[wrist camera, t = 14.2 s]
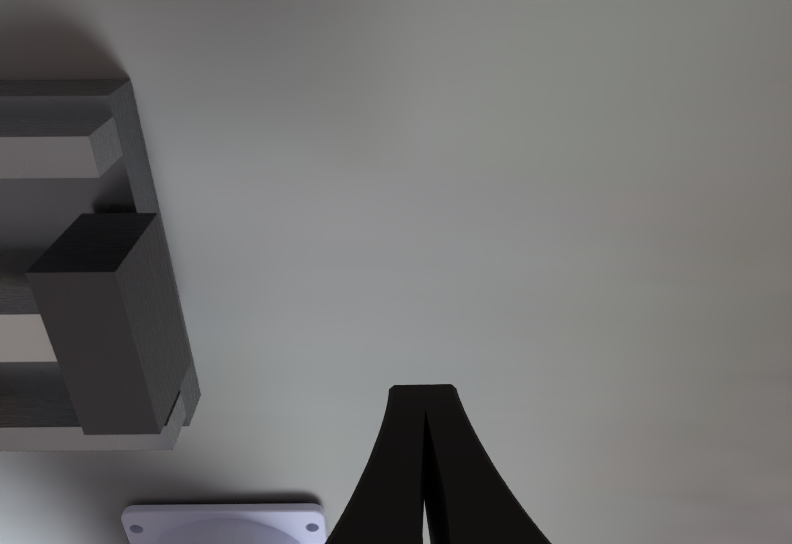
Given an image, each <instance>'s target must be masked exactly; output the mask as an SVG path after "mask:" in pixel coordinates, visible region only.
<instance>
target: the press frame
mask: <svg viewBox="0 0 792 544" xmlns="http://www.w3.org/2000/svg"><path fill="white" fill-rule="evenodd" d="M82 213H158V216H159V220H160V225H161V229H162V234H163V238H164V243H165V247H166V251H167V256H168V260H169V265H170V269H171V274H172V278H173V283H174V287H175V291H176V296H177V300H178V305H179V309H180V314H181V318H182V323H183V327H184V332H185V336H186V340H187V345H188V349H189V354H190V358H191V363H190V365H189V368H188V370H187V372H186V375H185V377H184V380H183V382H182V384H181V387H180V389H179V391H178V394H177V396H176V398H175V401H174V403H173V405H172V408H171V410H170V413H169V415H168V417H167V420H166V422H165V424H164V427H163V429H162V431H161V434H141V435H84V433H83V430H82V427H81V425H80V422H79V419H78V417H77V414H76V411H75V408H74V406H73V403H72V400H71V397H70V395H69V392H68V389H67V386H66V384H65V381H64V378H63V376H62V373H61V370H60V367H59V365H58V362H57V361H51V362H0V451H98V450H173V448H174V446H175V443H176V441H177V438H178V435H179V433H180V430H181V428H182V426H189V425H190V422H191V420H192V417H193V415H194V412H195V409H196V407H197V404H198V401H199V399H200V396H201V394H200V389H199V385H198V381H197V376H196V372H195V367H194V363H193V358H192V354H191V349H190V345H189V340H188V336H187V331H186V327H185V322H184V318H183V313H182V309H181V304H180V300H179V295H178V291H177V286H176V282H175V277H174V273H173V268H172V264H171V259H170V255H169V250H168V246H167V241H166V237H165V232H164V228H163V223H162V219H161V214H160V210H159V205H158V201H157V196H156V192H155V188H154V183H153V179H152V174H151V170H150V165H149V161H148V156H147V152H146V147H145V143H144V138H143V134H142V129H141V125H140V120H139V116H138V111H137V107H136V102H135V98H134V93H133V89H132V84H131V80H25V81H0V289H30V285H29V283H28V280H27V277H26V274H25V272H26V271H27V270H28V269H29V268H30V267H31V266H32V265H33V264H34V263H35V262H36V261H37V260H38V259H39V258H40V257H41V256H42V254H43V253H44V252H45V251H46V250H47V249H48V248H49V247H50V246H51V245H52V244H53V243H54V242H55V241H56V240H57V239H58V238H59V237H60V236H61V235H62V233H63V232H64V231H65V230H66V229H67V228H68V227H69V226H70V225H71V224H72V223H73V222H74V221H75V220H76V219H77V218H78V217H79V216H80V215H81V214H82Z"/></svg>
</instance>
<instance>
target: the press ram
mask: <svg viewBox="0 0 792 544" xmlns="http://www.w3.org/2000/svg"><path fill="white" fill-rule="evenodd" d="M25 274H26V277H27V280H28V283H29V285H30V289H0V362H51V361H57V362H58V365H59V367H60V370H61V373H62V376H63V378H64V381H65V384H66V386H67V389H68V392H69V395H70V397H71V400H72V403H73V406H74V408H75V411H76V414H77V417H78V419H79V422H80V425H81V427H82V430H83V433H84V435H141V434H161V431H162V429H163V427H164V424H165V422H166V420H167V417H168V415H169V413H170V410H171V408H172V405H173V403H174V401H175V398H176V396H177V394H178V391H179V389H180V387H181V384H182V382H183V380H184V377H185V375H186V372H187V370H188V368H189V365H190V363H191V358H190V354H189V349H188V345H187V340H186V336H185V332H184V327H183V323H182V318H181V314H180V309H179V305H178V300H177V296H176V291H175V287H174V283H173V278H172V274H171V269H170V265H169V260H168V256H167V251H166V247H165V243H164V238H163V234H162V229H161V225H160V220H159V216H158V213H82V214H81V215H80V216H79V217H78V218H77V219H76V220H75V221H74V222H73V223H72V224H71V225H70V226H69V227H68V228H67V229H66V230H65V231H64V232H63V233H62V235H61V236H60V237H59V238H58V239H57V240H56V241H55V242H54V243H53V244H52V245H51V246H50V247H49V248H48V249H47V250H46V251H45V252H44V253H43V254H42V256H41V257H40V258H39V259H38V260H37V261H36V262H35V263H34V264H33V265H32V266H31V267H30V268H29V269H28V270H27V271H26V272H25Z"/></svg>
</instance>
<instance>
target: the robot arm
mask: <svg viewBox="0 0 792 544" xmlns="http://www.w3.org/2000/svg"><path fill="white" fill-rule="evenodd" d="M424 501H425V508H426V515H427V522H428V529H429V535H430V542H431V544H551V543H550V541H549V540H548V539H547V538H546V537H545V536H544V534H543V533H542V532H541V531H540V530H539V528H538V527H537V526H536V524H535V523H534V522H533V521H532V519H531V518H530V517H529V516H528V514H527V513H526V512H525V510H524V509H523V508H522V506H521V505H520V504H519V502H518V501H517V499H516V498H515V497H514V495H513V494H512V492H511V491H510V489H509V488H508V486H507V485H506V483H505V482H504V480H503V479H502V477H501V476H500V474H499V473H498V471H497V469H496V468H495V466H494V465H493V463H492V461H491V460H490V458H489V456H488V454H487V453H486V451H485V449H484V448H483V446H482V444H481V442H480V441H479V439H478V437H477V435H476V433H475V431H474V429H473V427H472V425H471V423H470V421H469V419H468V417H467V415H466V413H465V411H464V408H463V406H462V403H461V401H460V398H459V396H458V393H457V389H456V388H455V387H454V386H453V385H452V384H435V385H394V386H393V387H392V388H390V389H389V396H388V402H387V407H386V411H385V415H384V419H383V422H382V425H381V428H380V432H379V434H378V437H377V440H376V442H375V445H374V448H373V450H372V453H371V455H370V458H369V460H368V463H367V465H366V467H365V469H364V472H363V474H362V476H361V478H360V480H359V482H358V484H357V487H356V489H355V491H354V493H353V495H352V497H351V499H350V501H349V503H348V504H347V506H346V508H345V510H344V512H343V514H342V515H341V517H340V519H339V521H338V522H337V524H336V526H335V528H334V529H333V531H332V533H331V534H330V536H329V537H328V539H327V530H326V520H325V511H324V509H323V508H322V507H321V506H320V505H317V504H312V503H298V504H192V505H131V506H128V507H126V508H125V510H124V512H123V514H122V516H121V521H122V523H123V526H124V529H125V532H126V535H127V537H128V540H129V543H130V544H423V536H422V533H423V512H424Z"/></svg>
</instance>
